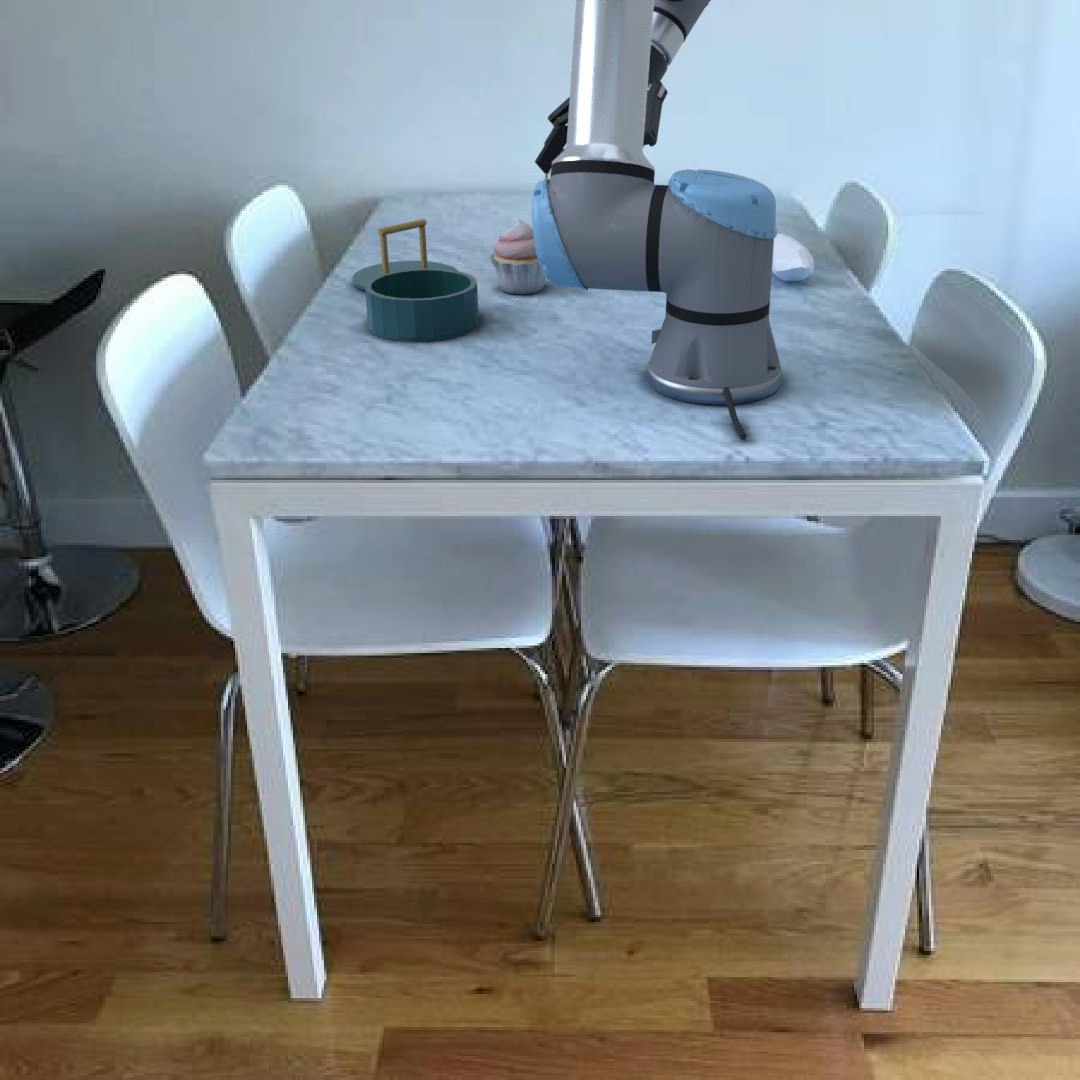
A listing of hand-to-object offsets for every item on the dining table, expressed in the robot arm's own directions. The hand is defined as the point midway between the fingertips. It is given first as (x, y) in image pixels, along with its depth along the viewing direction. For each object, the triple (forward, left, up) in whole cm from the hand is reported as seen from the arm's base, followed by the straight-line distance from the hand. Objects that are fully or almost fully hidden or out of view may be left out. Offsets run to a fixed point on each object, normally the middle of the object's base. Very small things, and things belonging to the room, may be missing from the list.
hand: (572, 174), depth 177 cm
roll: (-14, -28, -15) cm, 35 cm away
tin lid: (+5, +24, -14) cm, 29 cm away
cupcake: (-4, +9, -15) cm, 18 cm away
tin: (-15, +26, -15) cm, 34 cm away
